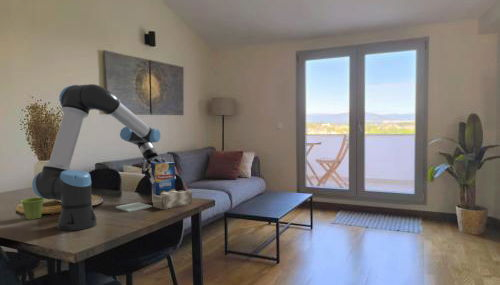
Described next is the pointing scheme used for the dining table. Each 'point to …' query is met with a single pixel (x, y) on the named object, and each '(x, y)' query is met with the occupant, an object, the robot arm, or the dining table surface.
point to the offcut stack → (168, 193)
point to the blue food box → (163, 177)
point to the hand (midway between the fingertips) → (164, 181)
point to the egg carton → (172, 200)
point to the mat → (133, 206)
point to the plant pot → (33, 207)
